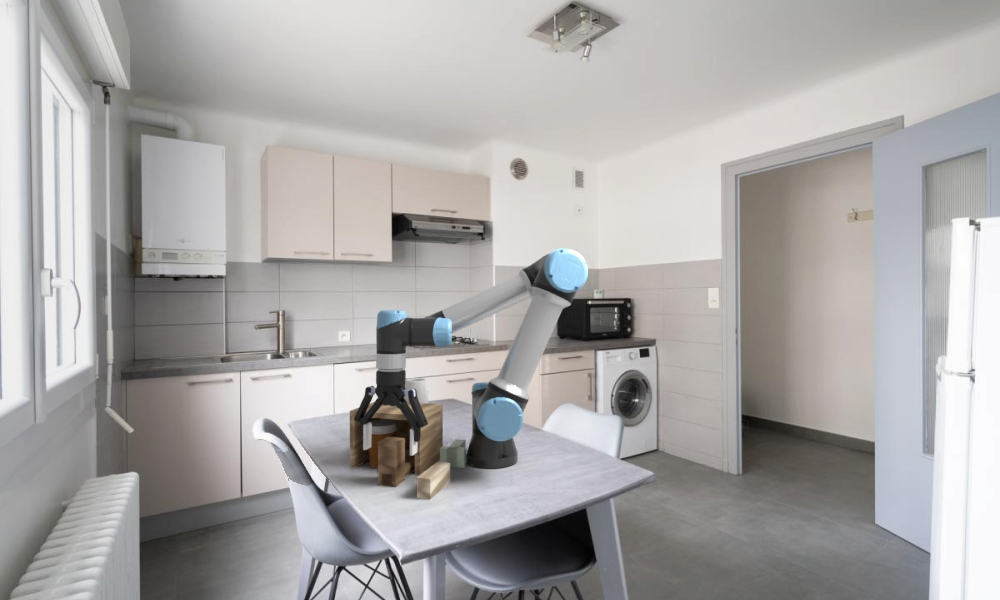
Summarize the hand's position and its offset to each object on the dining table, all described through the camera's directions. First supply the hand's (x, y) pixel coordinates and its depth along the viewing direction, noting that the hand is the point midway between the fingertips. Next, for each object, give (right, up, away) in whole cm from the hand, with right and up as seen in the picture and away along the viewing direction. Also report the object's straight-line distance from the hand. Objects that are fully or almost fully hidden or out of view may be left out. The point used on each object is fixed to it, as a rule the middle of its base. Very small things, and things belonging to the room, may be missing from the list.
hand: (390, 451), depth 125 cm
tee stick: (+16, -8, +17) cm, 24 cm away
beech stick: (+12, -8, -5) cm, 15 cm away
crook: (-2, -8, +10) cm, 13 cm away
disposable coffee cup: (-6, -8, +14) cm, 17 cm away
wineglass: (+1, -9, +36) cm, 37 cm away
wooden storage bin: (-1, -8, +16) cm, 18 cm away
